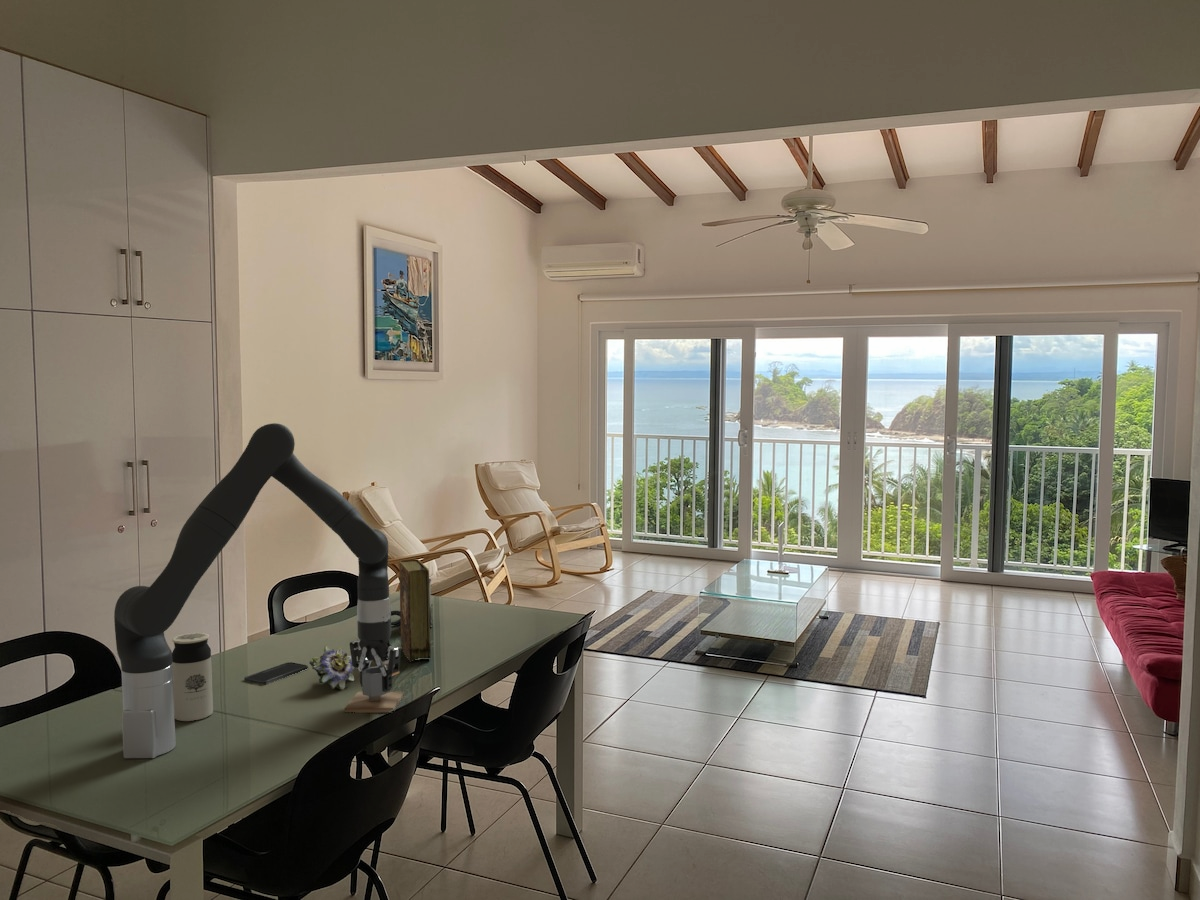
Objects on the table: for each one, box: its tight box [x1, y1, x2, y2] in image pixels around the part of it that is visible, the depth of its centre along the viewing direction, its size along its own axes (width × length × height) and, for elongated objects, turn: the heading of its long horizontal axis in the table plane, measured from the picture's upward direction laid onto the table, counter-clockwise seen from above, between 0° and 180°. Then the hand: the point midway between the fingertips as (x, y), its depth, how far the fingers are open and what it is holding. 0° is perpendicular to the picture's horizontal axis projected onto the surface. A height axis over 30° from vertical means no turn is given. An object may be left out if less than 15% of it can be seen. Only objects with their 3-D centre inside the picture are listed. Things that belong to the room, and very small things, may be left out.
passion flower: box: [309, 646, 357, 691], centre depth 219 cm, size 11×11×12 cm
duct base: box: [344, 691, 405, 714], centre depth 206 cm, size 11×11×6 cm
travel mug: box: [172, 632, 214, 722], centre depth 199 cm, size 8×8×18 cm
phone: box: [243, 661, 309, 686], centre depth 228 cm, size 8×1×15 cm
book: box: [398, 559, 432, 662], centre depth 244 cm, size 16×6×25 cm, turn 22°
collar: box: [362, 665, 400, 696], centre depth 207 cm, size 10×6×5 cm, turn 151°
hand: (376, 688), depth 205 cm, fingers closed on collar, 6 cm apart
